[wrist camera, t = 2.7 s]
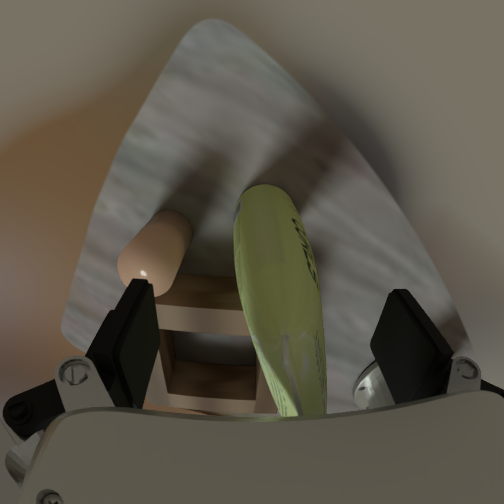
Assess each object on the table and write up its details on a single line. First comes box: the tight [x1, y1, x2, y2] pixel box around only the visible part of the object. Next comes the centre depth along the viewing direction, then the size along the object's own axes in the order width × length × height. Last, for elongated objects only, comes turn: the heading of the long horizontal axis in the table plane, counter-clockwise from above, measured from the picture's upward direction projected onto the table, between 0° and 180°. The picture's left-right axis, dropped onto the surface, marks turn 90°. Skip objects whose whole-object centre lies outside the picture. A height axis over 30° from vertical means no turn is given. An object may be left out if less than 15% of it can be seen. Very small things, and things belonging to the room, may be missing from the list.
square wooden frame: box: [146, 274, 278, 413], centre depth 27 cm, size 14×14×5 cm
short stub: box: [117, 210, 192, 297], centre depth 21 cm, size 4×4×7 cm
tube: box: [234, 184, 327, 417], centre depth 15 cm, size 6×5×20 cm
